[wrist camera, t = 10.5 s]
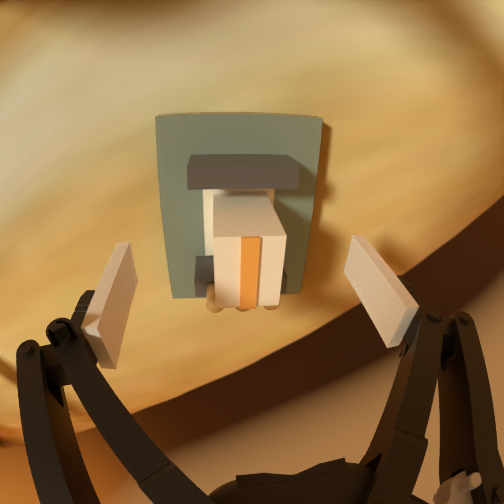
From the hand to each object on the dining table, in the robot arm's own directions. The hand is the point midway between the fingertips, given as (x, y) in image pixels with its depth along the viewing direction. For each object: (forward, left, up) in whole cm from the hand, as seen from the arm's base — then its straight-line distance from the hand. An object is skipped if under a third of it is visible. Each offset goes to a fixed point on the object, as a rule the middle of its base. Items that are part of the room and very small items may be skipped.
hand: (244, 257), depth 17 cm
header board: (0, 0, -8) cm, 8 cm away
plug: (+1, 0, -7) cm, 7 cm away
